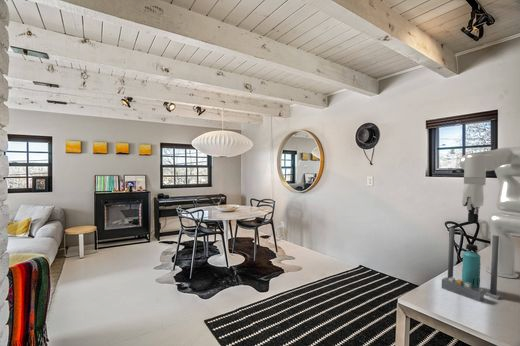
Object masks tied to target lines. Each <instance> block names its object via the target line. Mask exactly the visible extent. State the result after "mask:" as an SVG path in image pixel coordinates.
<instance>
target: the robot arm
mask: <svg viewBox="0 0 520 346" xmlns="http://www.w3.org/2000/svg"><path fill="white" fill-rule="evenodd" d="M459 166H460V169H462V170H463V173H464V174H463V191H462V203H461V205H462V207H466V210H467V213H468V214H467V222H468V223H473V224H474V223H475V224H477V223H479V212H480V208H481V207H483V206H484V200H485V199H484V195H485V194H484V190H485V189H484V186H486V183H487V182H486V181H487V180H486V179H487V172H491V171H494V172H495V173H494V174H495V175H496V178H497V180H498V183H499V189H498V193H497V200H496V208H497V209H498V210H499V211H501V212H495V213H492V214H491V215H490V216H489V218H488V224H489V228H490V248H489V251H490V252H489V266H486V267H485V271H486V272H488V274H491V260H492V236H493V235H496V236H499V246H498V270H497V277H501V278H506V279H507V278H508V279H517V278H519V274H518V273H517V272H516V271H515V270H516V269H515V268H516V267H515V266H516V265H515V264H516V244H517V243H516V239H515V238H514V236H513V235H512V234H515V235H520V215H519V214H520V182H519V181H518V180H517V179H516V178H517V177H519V178H520V146H514V147H513V146H511V147H500V148H496V149H493V150H492V149H491V150H486V151H485V150H484V151H479V152H472V153H467V154H464V155H462V156H461V157H460V160H459ZM515 177H516V178H515ZM514 213H515V214H514Z"/></svg>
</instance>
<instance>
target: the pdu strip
mask: <svg viewBox="0 0 520 346" xmlns="http://www.w3.org/2000/svg"><path fill="white" fill-rule="evenodd" d="M455 280H456V281H455ZM441 289H442V290H446V291H448V292H452V293H454V294H457V295H460V296H463V297H466V298H468V299H471V300H473V301H476V302H480V301H481V302H482V301H484V300H485V289H482V288H480V287H479V288H477V287H474V286H471V283H469V282H466V283H463V281H462V279H460V278H459V279H456V278H455V277H454V276H453V277H450V278H447V277H443V278H441ZM481 302H480V303H481Z"/></svg>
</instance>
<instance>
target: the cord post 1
mask: <svg viewBox="0 0 520 346" xmlns="http://www.w3.org/2000/svg"><path fill="white" fill-rule="evenodd" d="M448 228H449V230H448V232H449V234H448V235H449V236H448V255H447V257H448V259H447V260H448V261H447V263H448V264H447V276H446V278H450V277H453V278H454V257H455V256H454V255H455V254H454V253H455V234H456V233H455V232H456V231H455V228H456V227H448ZM456 280H457V279H455V281H456Z"/></svg>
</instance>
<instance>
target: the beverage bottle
mask: <svg viewBox="0 0 520 346" xmlns="http://www.w3.org/2000/svg"><path fill="white" fill-rule="evenodd" d="M465 249H466V250H467V251H464V252H463V253H462V268H461V273H462V274H461V280H462V281H463V283H466V282H469V283H471V286H474V287H477V288H480V286H481V265H482V264H481V254H479V253H478V245H475V244H471V243H467V244H466V245H465Z"/></svg>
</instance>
